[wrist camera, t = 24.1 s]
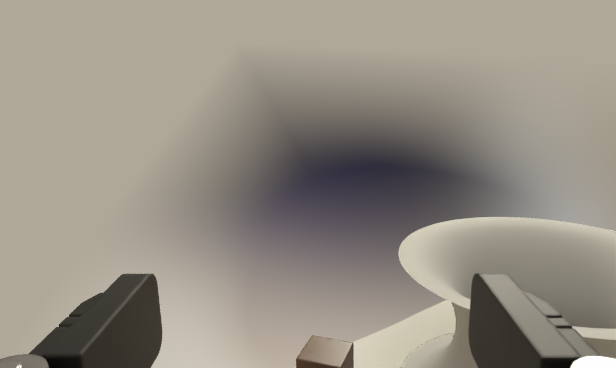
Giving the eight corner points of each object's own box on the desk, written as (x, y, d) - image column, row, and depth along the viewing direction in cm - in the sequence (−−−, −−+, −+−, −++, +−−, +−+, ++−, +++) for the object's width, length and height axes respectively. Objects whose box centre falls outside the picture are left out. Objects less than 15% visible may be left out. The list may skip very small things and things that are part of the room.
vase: (500, 320, 61) (509, 204, 57) (753, 445, 40) (793, 276, 36) (344, 389, 48) (343, 247, 44) (595, 626, 27) (631, 393, 24)
